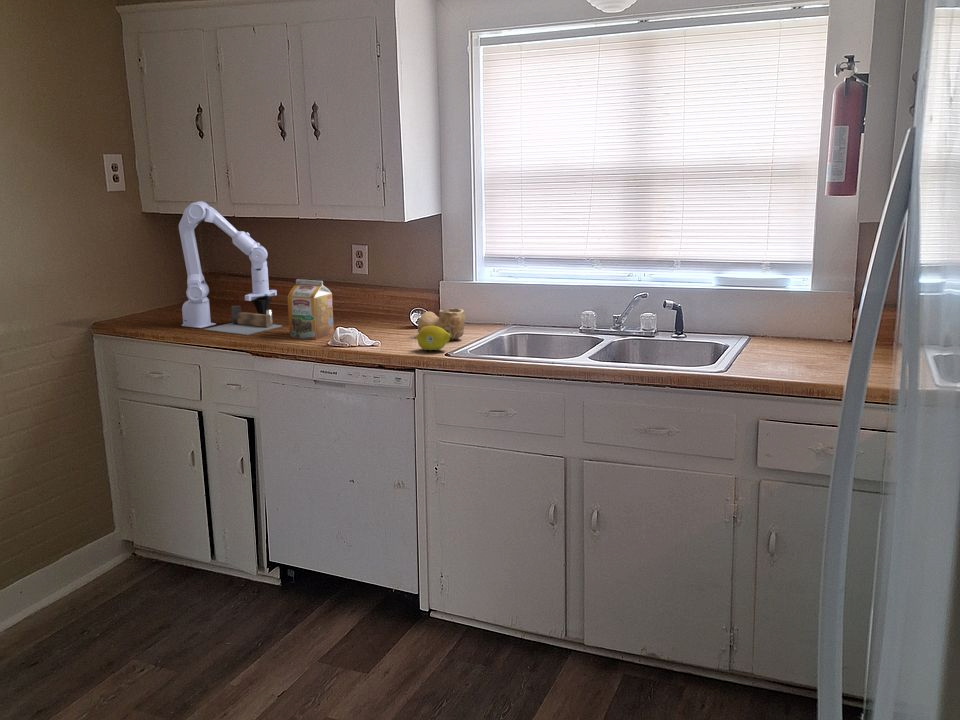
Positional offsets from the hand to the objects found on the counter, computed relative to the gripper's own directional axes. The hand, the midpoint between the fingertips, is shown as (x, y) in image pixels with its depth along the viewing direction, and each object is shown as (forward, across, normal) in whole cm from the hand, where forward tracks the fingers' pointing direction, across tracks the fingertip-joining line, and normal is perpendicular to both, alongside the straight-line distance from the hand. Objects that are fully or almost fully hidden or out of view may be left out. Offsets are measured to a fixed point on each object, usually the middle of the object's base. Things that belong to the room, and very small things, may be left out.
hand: (262, 317), depth 316 cm
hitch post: (+2, -2, -5) cm, 6 cm away
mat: (+2, -9, +1) cm, 9 cm away
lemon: (+3, -9, -78) cm, 79 cm away
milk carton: (+3, -8, -29) cm, 30 cm away
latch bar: (+2, -5, +1) cm, 5 cm away
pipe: (+3, +9, -71) cm, 72 cm away
